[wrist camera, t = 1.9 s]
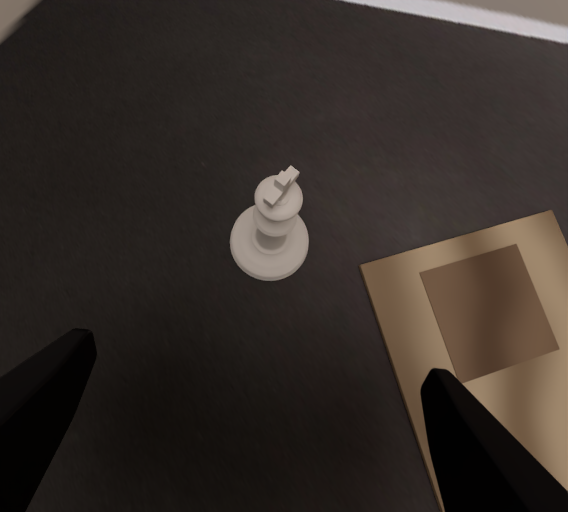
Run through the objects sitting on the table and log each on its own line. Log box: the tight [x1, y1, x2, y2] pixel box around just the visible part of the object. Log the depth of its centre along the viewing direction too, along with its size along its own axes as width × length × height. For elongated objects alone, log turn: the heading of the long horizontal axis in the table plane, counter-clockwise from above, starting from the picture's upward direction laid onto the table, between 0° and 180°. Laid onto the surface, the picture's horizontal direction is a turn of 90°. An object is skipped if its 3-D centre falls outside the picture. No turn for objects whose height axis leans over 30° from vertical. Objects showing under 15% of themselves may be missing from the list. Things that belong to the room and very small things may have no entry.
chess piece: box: [230, 165, 309, 281], centre depth 18 cm, size 5×5×10 cm
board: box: [359, 210, 568, 512], centre depth 22 cm, size 14×18×1 cm
